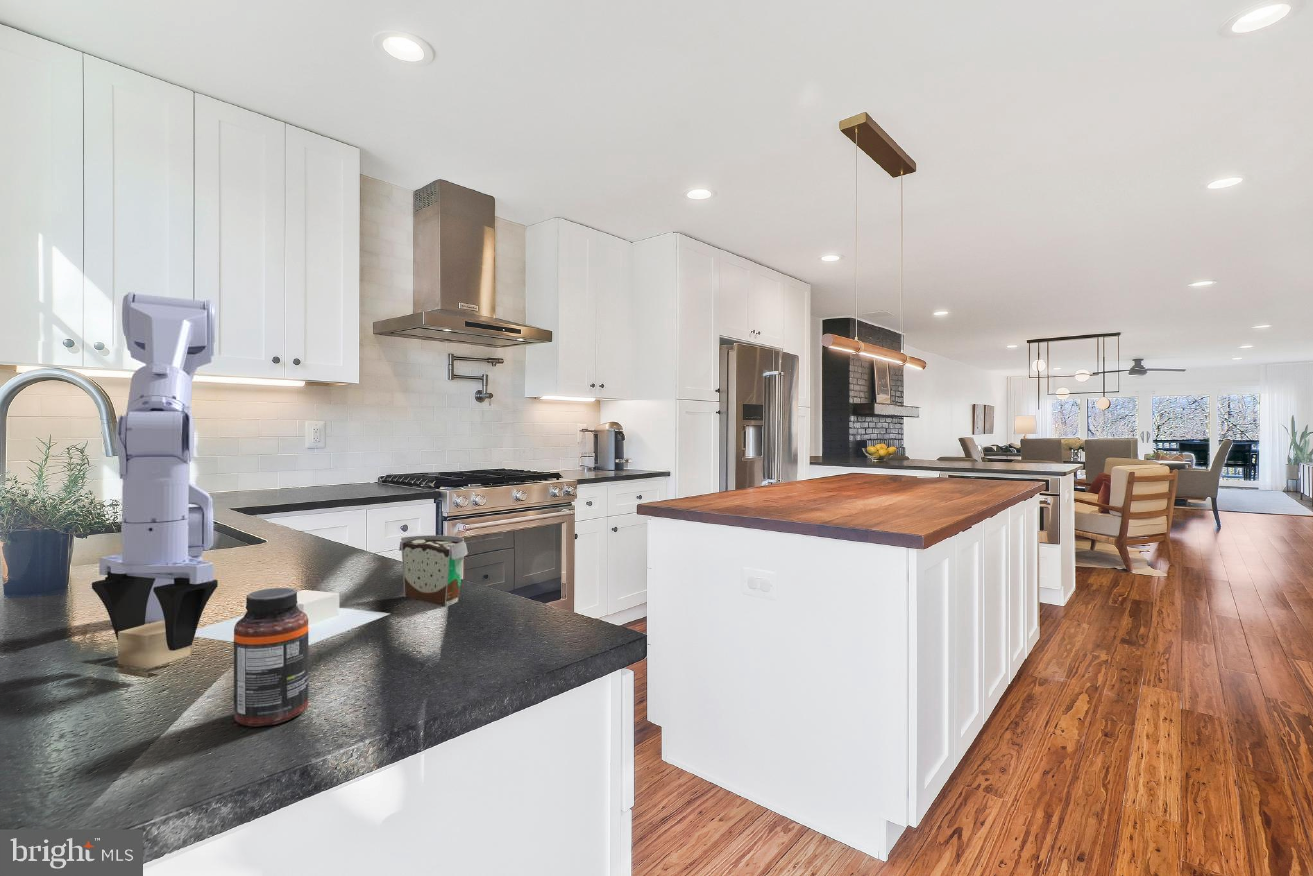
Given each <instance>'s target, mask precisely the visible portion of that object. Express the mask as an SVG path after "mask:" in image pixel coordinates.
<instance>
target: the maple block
mask: <svg viewBox="0 0 1313 876" xmlns="http://www.w3.org/2000/svg"><path fill="white" fill-rule="evenodd" d="M191 647H192V645H191V646H188V647H185V648H181V649H178V650H175V651H171V650H169V648H168V645H167V641H166V630H165V621H162V620H161V621H158V622H149V623H145V625H142V626H139V627H135V628H131V629H127V630H124V631H120V632H118V641H117V665H124V666H129V667H135V668H142V669H147V670H148V669H151V668H155V667H157V666H161V665H164V664H166V663H169V662H173V661H176V660H178V659H182V658H186V657H188V656H190V655H191V654H192V653H191V651H192V650H191ZM117 674H122V675H126V676H133V677H137V678H138V677H139V678H145V679H149V678H152V677H155V676H158V675H159V676H160V674H159V673H154V672H148V671H143V670H142V671H141V670H137V669H136V670H134V669H129V668H122V667H117Z"/></svg>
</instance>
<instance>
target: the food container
mask: <svg viewBox="0 0 1313 876" xmlns="http://www.w3.org/2000/svg"><path fill="white" fill-rule="evenodd" d="M398 551H401V561H402V564H401V565H402V579H403V581H402V582H403V596H404V598H408V599H413V600H418V601H423V602H426V603H431V604H434V605H439V606H444V607H448V606H452V605H454V604H455V603H458V601H459V600H460V593H461V591H460V590H461V582H462V581H461V580H462V574H463V573H462V571H463V559H464V557H466V556H467V555H468V554H469V552H468V549H467V543H466V542H465V539H464V538H463V537H460V536H454V535H440V534H439V535H437V534H433V535H432V534H431V535H412V536H405V537H401V538H400V541H399V549H398Z"/></svg>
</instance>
